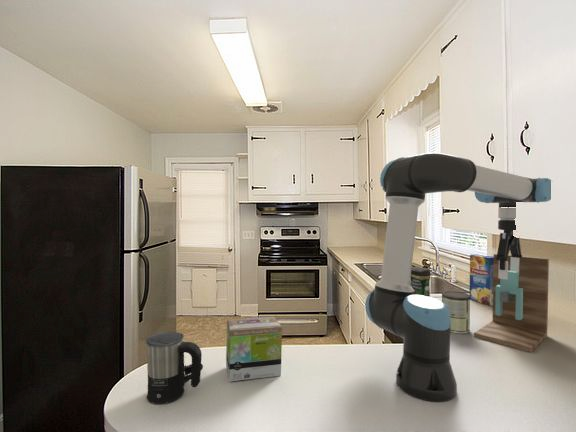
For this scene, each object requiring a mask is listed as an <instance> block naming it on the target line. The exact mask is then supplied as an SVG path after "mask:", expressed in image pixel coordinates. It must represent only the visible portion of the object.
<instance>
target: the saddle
mask: <svg viewBox="0 0 576 432" xmlns="http://www.w3.org/2000/svg"><path fill="white" fill-rule="evenodd" d="M518 279H519V272H517V271H509V270H508V279H500V285H497V286H496V300H495V315H498V316H500V315H502V304H503V302H501V301H500V291H508V292H509V294H515V295H516V315H515V319H517V320H521V319H523V289H522V288H518Z"/></svg>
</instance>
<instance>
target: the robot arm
mask: <svg viewBox="0 0 576 432" xmlns="http://www.w3.org/2000/svg"><path fill="white" fill-rule="evenodd" d="M379 180H380V182H379V183H380V187H382V190H383V192H384V193H385V197H384V198H385V200H386V201H387V202H388V204H389V205H388V207H389V208H388V216H387V217H388V218H387V223H386V224H387V225H386V232H385V233H386V234H385V239H384V240H385V242H384V249H383V258H382V259H383V260H382V267H381V274H380V275H381V276H380V279H379V280H378V281H377V282H376V283H375V284H374V288H373V289H372V290H371V291H370V292H369V294H368V295H367V297H366V300H365V312H366V313H365V314H366V315H367V317H368V319H369V320H370V321H371V323H372V324H374V325H375V326H377V327H378V328H379V329H382V330H385V331H387V332H389V333H390V334H393V335H395V336H397V337H399V338H401V339H402V341H403V346H402V347H403V348H402V349H403V351H402V353H403V354H402V357H401V359H400V361H399V365H398V367H397V370H396V375H395V377H396V380H395V381H396V384H397V386H398V387H399V388H400V390H402V392H404V393H406V394H408V395H409V396H412V397H414V398H418V399H420V400H422V401H423V400H425V401H431V402H446V401H449V400H453V399H454V398H455V397H456V396H457V394H458V393H457V391H458V389H457V388H458V386H457V381H456V378H455V374H454V370H453V368H452V364H451V361H450V359H451V357H450V356H451V355H450V354H451V352H450V351H451V332H450V328H451V320H450V311H449V308H448V307H447V305H446V304H444V303H443V302H442V300H440V299H437V298H436V297H435V298H434V297H432V296H430V297H426V296H424V295H414V289H413V288H412V287H411V278H410V277H411V268H412V267H413V259H414V257H413V256H414V251H415V250H414V249H415V241H416V233H417V224H418V223H417V222H418V215H419V207H420V206H421V205H423V204H424V203H425V200H426V194H433V193H441V192H442V193H443V192H454V193H464V192H468V191H469V192H474V196H475V198H476V200H477V201H478V202H480V203H485V204H498V209H497V210H498V211H497V212H498V213H497V214H498V215H497V217H498V220H497V224H498V225H497V229H498V230H500V231H501V230H502V231H503V232H500V233H499V242H498V247H497V253H496V254H497V257H496V260H499V270H498V278H500V279H508V261H507V258H508V255H511V256H512V257H511V260H510V271H517V272H519V258H518V257H520V258H522V256H523V254H522V248H521V242H520V237H519V238H516V237H514V236H513V230H516V225H515V220H514V219H515V218H516V208H501V207H516V202H523V203H547V202H549V201H551V200H552V199H551V181H552V179H551V178H548V177H538V178H537V177H536V178H530V177H525V176H522V175H517V174H513V173H510V172H505V171H502V170H498V169H493V168H489V167H485V166H481V165H477V164H476V163H475V162H474V161H472V160H471V159H469V158H468V159H467V158H463V157H459V156H456V155H452V154H446V153H442V152H441V153H439V152H426V153H421V154H415V155H411V156H403V157H398V158H396V159H393V160H391V161H389V162H387V164H386V165H384V167H383V168H382V170H381V173H380V178H379Z"/></svg>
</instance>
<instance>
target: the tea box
mask: <svg viewBox="0 0 576 432" xmlns="http://www.w3.org/2000/svg"><path fill="white" fill-rule="evenodd" d="M282 341H283V327H282V325H281V324H280V322H279V321H278V320H277V318H276V317H275V316H261V317H260V316H259V317H247V318H233V319H232V318H231V319H227V320H226V349H225V350H226V352H225V353H226V354H225V357H226V358H225V361H226V362H225V366H226V371H227V375H228V381H229V383H231V382H237V381H244V380H245V381H247V380H252V379H253V380H255V379H261V378H262V379H264V378H273V377H274V376H277V377H281V376H282V375H281V374H282V343H283V342H282Z"/></svg>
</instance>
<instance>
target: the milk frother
mask: <svg viewBox="0 0 576 432" xmlns="http://www.w3.org/2000/svg"><path fill="white" fill-rule="evenodd" d="M184 336H185V335H184V334H183V333H181V332H177V331H166V332H165V331H164V332H159V333H156V334H153V335H150V336H149V337H148V338H146V340H145V344H146V355H147V356H146V359H147V360H146V362H147V363H146V364H147V367H146V368H147V369H146V370H147V394H146V400H147V402H149V403H150V404H153V405H163V404H169V403H172V402H174V401H177V400H179V399H180V398H181V397H183V395H185V385H186V383H188V382H189V381H190V386H191V387H192V388H196V387H197V386H199V384H200V382H201V371H202V370H203V368H204V365H203V364H202V358H203V357H202V349H201V347H199V345H197V344H196V343H194V342H193V341H183V339H184ZM185 353H187V354H189V355H190V357H191V364H189V365H186V364H185Z"/></svg>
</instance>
